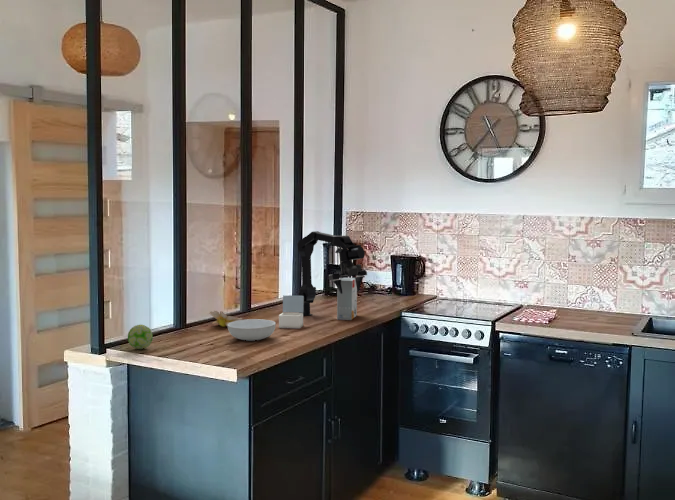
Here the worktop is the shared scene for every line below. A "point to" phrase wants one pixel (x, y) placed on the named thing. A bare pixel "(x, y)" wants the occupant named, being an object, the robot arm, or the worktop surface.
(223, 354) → the worktop surface
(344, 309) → the hard drive box
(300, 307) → the lid
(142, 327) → the decorative ball
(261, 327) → the serving bowl
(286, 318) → the keepsake box
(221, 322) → the decorative flower
